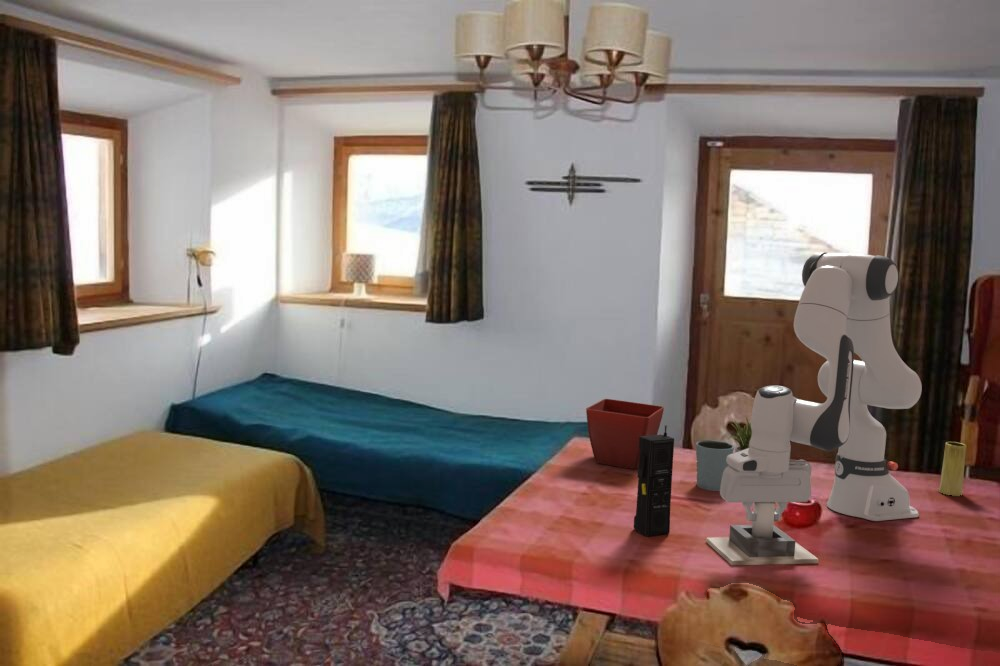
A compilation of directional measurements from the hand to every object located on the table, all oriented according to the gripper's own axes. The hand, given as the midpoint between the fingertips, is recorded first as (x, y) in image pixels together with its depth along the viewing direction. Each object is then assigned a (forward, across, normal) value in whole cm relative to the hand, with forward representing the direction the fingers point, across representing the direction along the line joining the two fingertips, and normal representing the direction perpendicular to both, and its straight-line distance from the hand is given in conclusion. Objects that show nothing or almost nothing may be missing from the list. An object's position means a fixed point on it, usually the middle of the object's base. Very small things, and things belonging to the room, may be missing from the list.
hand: (763, 520), depth 203 cm
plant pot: (+8, +9, -74) cm, 75 cm away
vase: (+7, -77, -41) cm, 88 cm away
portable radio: (+8, +21, -14) cm, 26 cm away
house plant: (+8, -27, -64) cm, 70 cm away
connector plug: (+4, 0, 0) cm, 4 cm away
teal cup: (+8, -9, -49) cm, 50 cm away
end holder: (+7, 0, 0) cm, 7 cm away
